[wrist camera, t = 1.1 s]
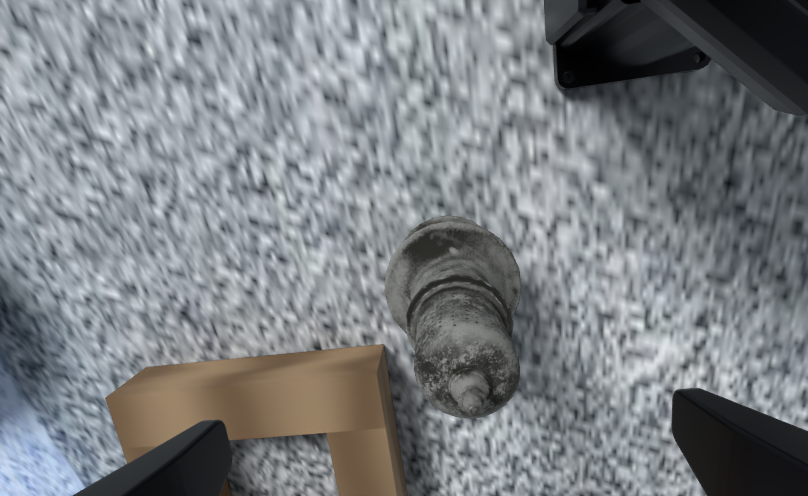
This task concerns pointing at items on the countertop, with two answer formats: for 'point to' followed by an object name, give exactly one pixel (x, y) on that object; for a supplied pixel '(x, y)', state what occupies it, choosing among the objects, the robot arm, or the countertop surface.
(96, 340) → the countertop surface
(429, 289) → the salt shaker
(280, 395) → the socket block
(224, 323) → the countertop surface
